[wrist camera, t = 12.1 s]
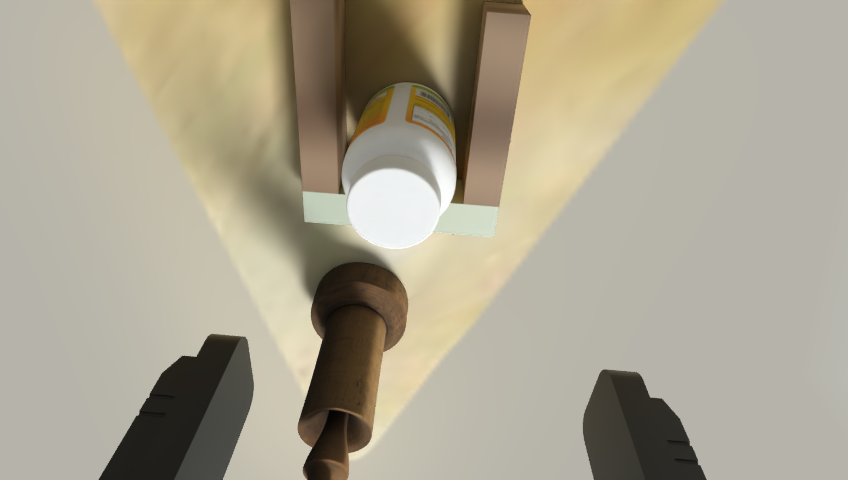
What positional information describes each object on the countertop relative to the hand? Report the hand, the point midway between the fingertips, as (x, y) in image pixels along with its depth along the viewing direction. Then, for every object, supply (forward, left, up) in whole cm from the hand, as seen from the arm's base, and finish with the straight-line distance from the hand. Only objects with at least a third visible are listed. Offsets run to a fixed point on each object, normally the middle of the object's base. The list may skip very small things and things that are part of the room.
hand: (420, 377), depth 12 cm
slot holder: (+1, -2, -20) cm, 20 cm away
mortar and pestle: (+15, -4, -21) cm, 26 cm away
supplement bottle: (+2, -2, -21) cm, 21 cm away
